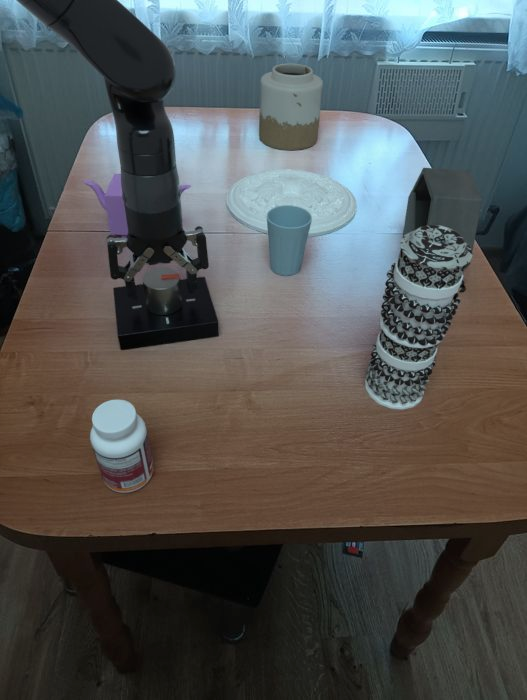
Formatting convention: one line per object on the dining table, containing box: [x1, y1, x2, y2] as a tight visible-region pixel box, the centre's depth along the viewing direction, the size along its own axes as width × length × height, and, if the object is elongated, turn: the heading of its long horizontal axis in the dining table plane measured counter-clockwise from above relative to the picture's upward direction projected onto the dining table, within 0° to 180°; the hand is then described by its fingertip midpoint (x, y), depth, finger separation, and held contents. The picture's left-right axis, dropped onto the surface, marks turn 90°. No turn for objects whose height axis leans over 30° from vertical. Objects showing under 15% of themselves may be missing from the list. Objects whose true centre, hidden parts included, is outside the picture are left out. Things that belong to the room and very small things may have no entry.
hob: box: [112, 276, 220, 351], centre depth 86 cm, size 15×12×3 cm
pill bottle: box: [89, 398, 155, 494], centre depth 62 cm, size 6×6×11 cm
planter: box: [401, 167, 483, 271], centre depth 94 cm, size 17×8×21 cm
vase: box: [258, 63, 324, 151], centre depth 135 cm, size 15×15×17 cm
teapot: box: [82, 173, 192, 238], centre depth 102 cm, size 15×13×11 cm
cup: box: [267, 205, 312, 277], centre depth 95 cm, size 8×8×10 cm
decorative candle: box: [364, 225, 474, 411], centre depth 69 cm, size 9×9×25 cm
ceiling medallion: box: [225, 168, 358, 238], centre depth 115 cm, size 28×28×3 cm
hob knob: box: [141, 266, 182, 315], centre depth 83 cm, size 6×6×5 cm
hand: (162, 293), depth 83 cm, fingers open, 8 cm apart
